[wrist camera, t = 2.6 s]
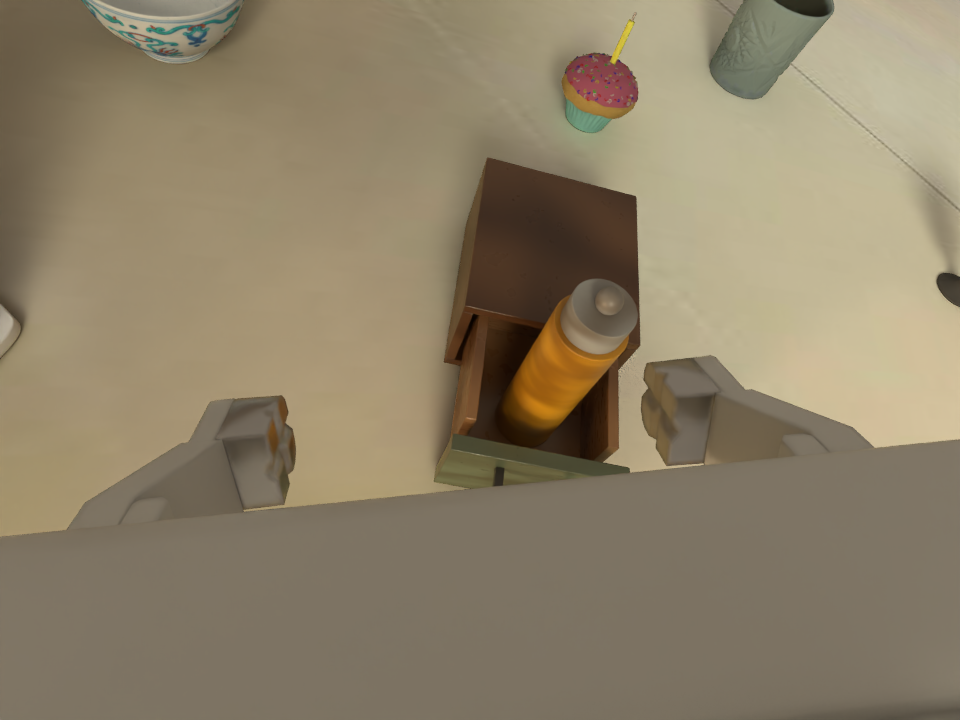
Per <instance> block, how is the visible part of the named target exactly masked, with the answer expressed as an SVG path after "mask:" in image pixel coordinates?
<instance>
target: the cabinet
mask: <svg viewBox="0 0 960 720" xmlns="http://www.w3.org/2000/svg"><path fill="white" fill-rule="evenodd" d="M589 279H604V280H608V281H611V282H613V283H615V284H617V285H619V286H620V287H622V288H623V289H624V290H625V291H626V292H627V293H628V294H629V295H630V296H631V298H632V299H633V301H634V303H635V305H636V308H637V313H638V318H637V323H636V325H635V327H634V329H633V330H632V331H631V332H630V333H629V340H628V344H627V346H626V348H625V350H624V351H623V352H622V354H621V355H620V356H619V357H618V370H619V369H620V368H621V366H622V365H623V364H624V363H625V362H626V361H627V360H628V359H629V358H630V356H631V355H632V354H633V353H634V352H635V351H636V350H637V349H638V347H639V346H640V315H639V278H638V241H637V204H636V196H633V195H629V194H625V193H621V192H617V191H614V190H610V189H606V188H602V187H598V186H595V185H591V184H587V183H583V182H579V181H576V180H572V179H568V178H564V177H560V176H557V175H553V174H549V173H545V172H541V171H538V170H534V169H530V168H526V167H522V166H519V165H515V164H511V163H507V162H503V161H500V160H496V159H492V158H487V159H486V162H485V165H484V169H483V172H482V175H481V178H480V181H479V185H478V188H477V191H476V194H475V197H474V200H473V204H472V207H471V210H470V213H469V216H468V220H467V223H466V228H465V234H464V240H463V246H462V253H461V259H460V265H459V271H458V277H457V283H456V290H455V296H454V302H453V308H452V314H451V321H450V327H449V333H448V339H447V345H446V351H445V358H444V362H446V363H451V364H455V365H460V366H461V361H462V354H463V347H464V340H465V333H466V330H467V328H468V325H469V323H470V320H471V318H472V315H473V314H477V315H482V316H486V317H491V318H495V319H500V320H504V321H508V322H513V323H517V324H522V325H526V326H531V327H535V328H539V329H543V328H544V326H545V324H546V323H547V321H548V319H549V318H550V316H551V314H552V313H553V311H554V309H555V308H556V306H557V305H558V303H559V302H560V301H561V300H562V299H563V298H565V297H567V296H569V295H571V294H572V293H573V291H574V290H575V288H576V287H577V286H578V285H579V284H580V283H582V282H584V281H586V280H589Z"/></svg>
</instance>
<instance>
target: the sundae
mask: <svg viewBox="0 0 960 720" xmlns="http://www.w3.org/2000/svg"><path fill="white" fill-rule="evenodd" d="M938 286H939V289H940V291H941V292H942V294H943V295H944V296H945V297H946V298H947V299H948V300H949V301H950V302H952V303H953V304H955V305H957V306H959V307H960V277H959V276H957V275H954V274H950V273H943V274H941V275H940V276H939V277H938Z"/></svg>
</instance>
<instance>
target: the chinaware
mask: <svg viewBox="0 0 960 720" xmlns="http://www.w3.org/2000/svg"><path fill="white" fill-rule="evenodd" d="M82 1H83V3H84V4H85V5H86V7H87V8H88V9H89V10H90V12H91V13H92V14H93V15H94V16H95V17H96V18H97V19H98V21H100V22H101V23H102V24H103V25H104V26H105V27H106V28H107V29H108V30H109V31H111V32H112V33H113V34H115V35H116V36H117V37H119V38H120V39H122V40H123V41H125V42H127V43H129V44H130V45H132V46H134V47H136V48H139V49H141V50H142V51H143V52H144V53H146V54H147V55H148V56H150V57H152V58H154V59H156V60H159V61H162V62H166V63H173V64H183V63H190V62H193V61H196V60H198V59H200V58H202V57H203V56H205V55H206V54H207V52H208V51H209V49H210V48H212V47H213V46H215V45H216V44H218V43H219V42H220V41H221V40H223V39H224V38H225V37H226V36H227V34H228V33H229V32H230V31H231V29H232V28H233V27H234V25H235V23H236V21H237V19H238V17H239V15H240V12H241V9H242V6H243V2H244V0H82Z"/></svg>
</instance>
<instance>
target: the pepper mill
mask: <svg viewBox="0 0 960 720" xmlns="http://www.w3.org/2000/svg"><path fill="white" fill-rule="evenodd" d="M637 318H638V313H637V308H636V305H635V303H634V301H633V299H632V298H631V296H630V295H629V294H628V293H627V292H626V291H625V290H624V289H623V288H622V287H620V286H619V285H617V284H615V283H613V282H611V281H608V280H604V279H589V280H586V281H584V282H582V283H580V284H579V285H578V286H577V287H576V288H575V290H574V291H573V293H572V294H571V295H569V296H567V297H565V298H563V299H562V300H561V301H560V302H559V303H558V305H557V306H556V308H555V309H554V311H553V313H552V314H551V316H550V318H549V319H548V321H547V323H546V324H545V326H544V328H543V329H542V331H541V333H540V334H539V336H538V338H537V339H536V341H535V342H534V344H533V346H532V347H531V349H530V351H529V352H528V354H527V356H526V357H525V359H524V361H523V362H522V364H521V366H520V367H519V369H518V371H517V372H516V374H515V376H514V377H513V379H512V381H511V382H510V384H509V386H508V387H507V389H506V391H505V392H504V394H503V396H502V397H501V399H500V401H499V402H498V404H497V407H496V410H495V420H496V424H497V427H498V429H499V431H500V432H501V433H502V435H503V436H504V437H505V438H506V439H507V440H509V441H510V442H512V443H514V444H516V445H518V446H522V447H534V446H538V445H540V444H542V443H544V442H545V441H546V440H547V439H548V438H549V437H550V436H551V434H552V433H553V432H554V431H555V430H556V429H557V427H558V426H559V425H560V424H561V423H562V422H563V421H564V419H565V418H566V417H567V416H568V415H569V414H570V412H571V411H572V410H573V409H574V408H575V407H576V406H577V404H578V403H579V402H580V401H581V400H582V399H583V397H584V396H585V395H586V394H587V393H588V392H589V391H590V389H591V388H592V387H593V386H594V385H595V384H596V382H597V381H598V380H599V379H600V378H601V377H602V375H603V374H604V373H605V372H606V371H607V370H608V369H609V367H610V366H611V365H612V364H613V363H614V362H615V360H616V359H617V358H618V357H619V356H620V355H621V354H622V352H623V351H624V350H625V348H626V346H627V344H628V340H629V333H630V332H631V331H632V330H633V329H634V327H635V325H636V323H637Z"/></svg>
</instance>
